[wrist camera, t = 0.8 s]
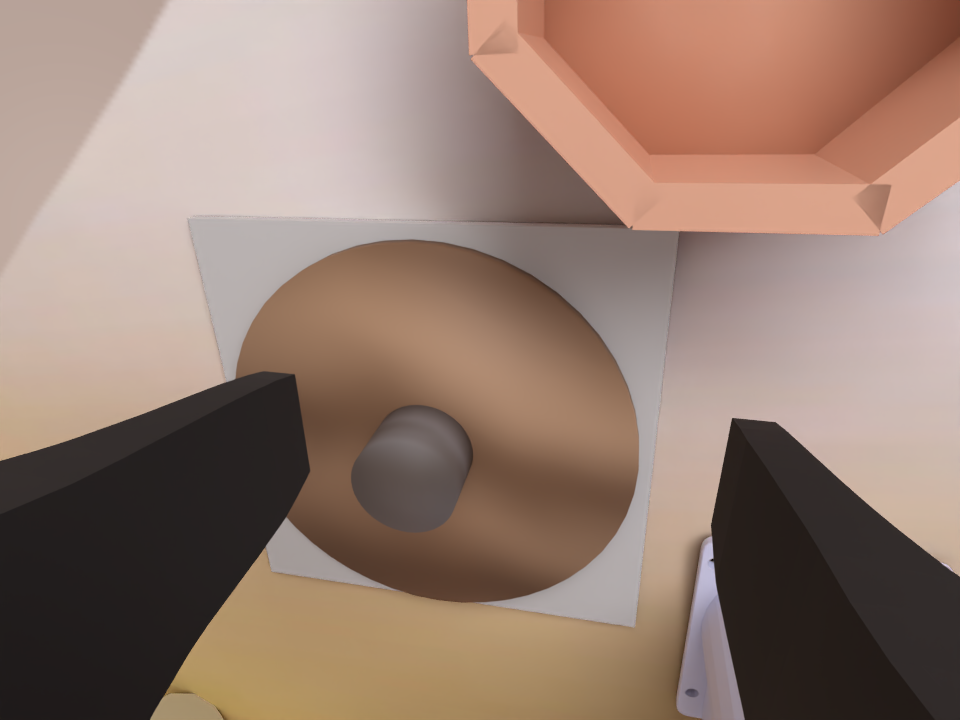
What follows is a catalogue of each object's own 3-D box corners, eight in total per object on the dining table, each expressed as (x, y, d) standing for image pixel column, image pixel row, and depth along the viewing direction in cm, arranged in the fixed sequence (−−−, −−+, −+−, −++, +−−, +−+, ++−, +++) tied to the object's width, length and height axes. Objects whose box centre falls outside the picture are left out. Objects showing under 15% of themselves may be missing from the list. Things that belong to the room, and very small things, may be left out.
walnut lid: (623, 616, 24) (621, 684, 22) (280, 564, 28) (243, 617, 25) (659, 246, 18) (663, 278, 15) (204, 233, 21) (143, 258, 18)
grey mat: (634, 619, 25) (634, 627, 24) (276, 565, 28) (271, 571, 28) (678, 226, 18) (679, 229, 18) (194, 215, 21) (187, 218, 21)
